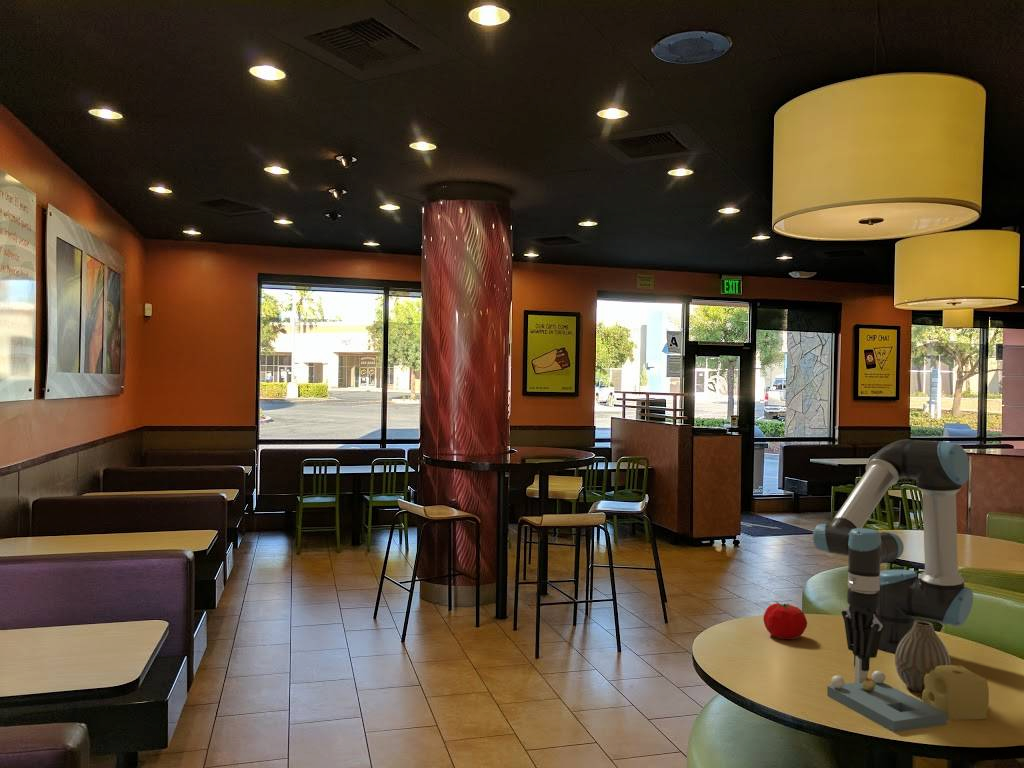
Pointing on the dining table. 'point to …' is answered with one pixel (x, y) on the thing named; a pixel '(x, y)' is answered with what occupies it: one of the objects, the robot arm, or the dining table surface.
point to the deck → (888, 706)
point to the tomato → (784, 621)
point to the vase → (919, 655)
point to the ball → (868, 684)
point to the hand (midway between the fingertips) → (861, 681)
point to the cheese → (957, 692)
